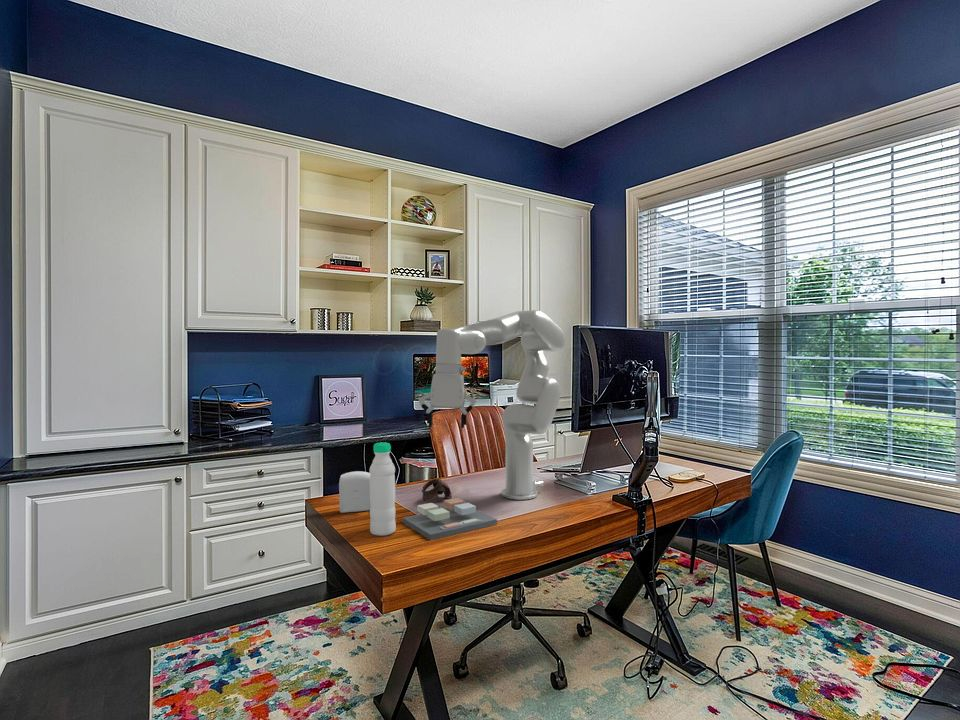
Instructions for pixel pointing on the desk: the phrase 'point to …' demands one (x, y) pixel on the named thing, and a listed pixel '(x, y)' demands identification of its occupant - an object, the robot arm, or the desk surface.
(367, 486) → the photo printer
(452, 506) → the terracotta key
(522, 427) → the robot arm
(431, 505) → the cream key
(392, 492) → the water bottle
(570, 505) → the desk surface
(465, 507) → the blue key
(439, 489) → the brown arched ornament
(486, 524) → the keypad
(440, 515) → the sage key
